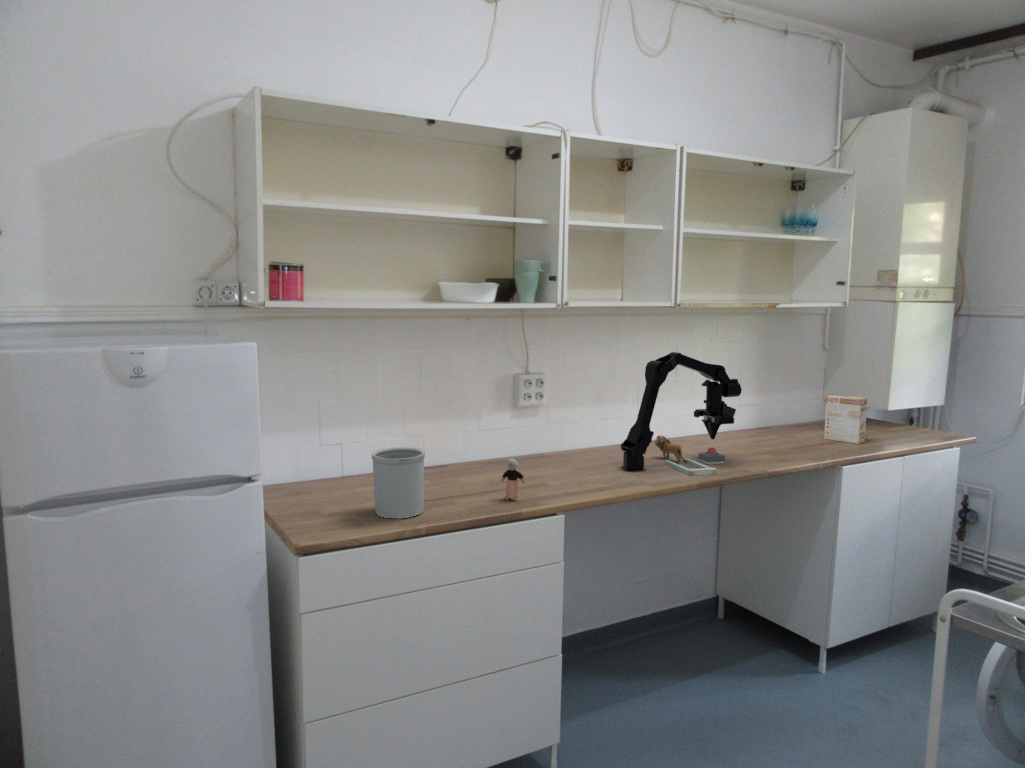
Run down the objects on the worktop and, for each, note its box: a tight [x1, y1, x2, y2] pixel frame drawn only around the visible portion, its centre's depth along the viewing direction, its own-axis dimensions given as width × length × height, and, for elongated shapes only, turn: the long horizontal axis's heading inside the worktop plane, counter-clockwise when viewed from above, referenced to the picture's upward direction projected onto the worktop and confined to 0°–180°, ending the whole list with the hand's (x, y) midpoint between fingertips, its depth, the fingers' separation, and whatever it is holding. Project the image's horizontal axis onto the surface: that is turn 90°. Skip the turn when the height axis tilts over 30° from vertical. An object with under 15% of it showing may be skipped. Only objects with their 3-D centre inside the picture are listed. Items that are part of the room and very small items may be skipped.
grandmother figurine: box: [500, 458, 526, 501], centre depth 220 cm, size 8×4×13 cm, turn 82°
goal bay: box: [663, 458, 717, 477], centre depth 261 cm, size 10×19×2 cm, turn 17°
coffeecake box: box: [823, 394, 868, 445], centre depth 314 cm, size 15×7×20 cm, turn 42°
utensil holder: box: [371, 446, 426, 518], centre depth 206 cm, size 15×15×18 cm
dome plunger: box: [706, 447, 717, 455], centre depth 272 cm, size 3×3×4 cm
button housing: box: [697, 451, 726, 465], centre depth 273 cm, size 7×7×3 cm
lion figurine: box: [653, 434, 687, 465], centre depth 274 cm, size 15×5×9 cm, turn 40°
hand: (712, 439), depth 272 cm, fingers closed
